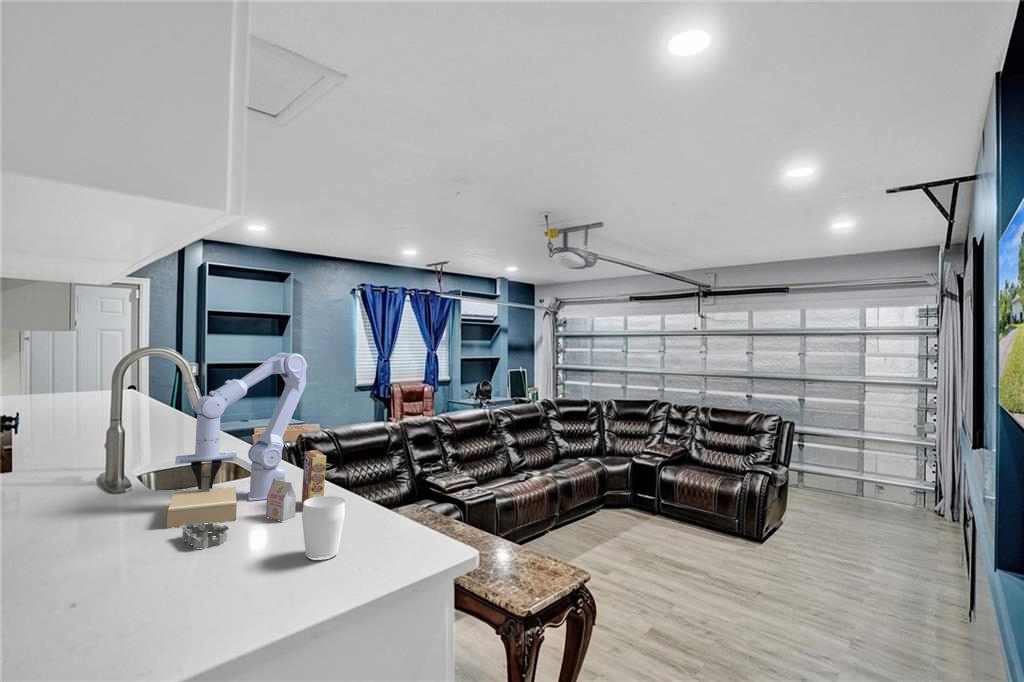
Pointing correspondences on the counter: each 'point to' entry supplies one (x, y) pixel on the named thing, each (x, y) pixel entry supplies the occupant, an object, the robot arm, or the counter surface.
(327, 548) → the cup
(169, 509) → the sliding lid
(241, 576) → the counter surface
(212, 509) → the carton
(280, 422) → the robot arm
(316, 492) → the candy box
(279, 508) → the milk carton
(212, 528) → the egg carton
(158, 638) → the counter surface
